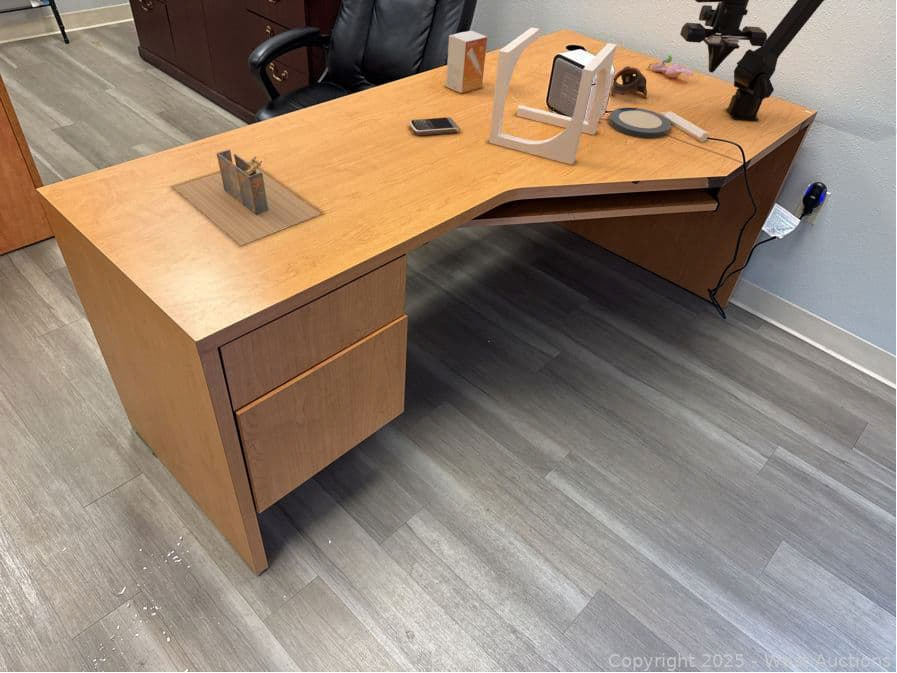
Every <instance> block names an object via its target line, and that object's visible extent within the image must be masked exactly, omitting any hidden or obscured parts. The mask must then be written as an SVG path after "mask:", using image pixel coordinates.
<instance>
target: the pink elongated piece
mask: <svg viewBox="0 0 897 673" xmlns="http://www.w3.org/2000/svg"><path fill="white" fill-rule="evenodd" d="M667 57H668V58H664V60H662V61H660V62H654V63H653V62H652V63H650V62H649V64H648V66H647V69H650V68H651V70H652V72H653V73H662V74H665V76H666V77H668V78H671V79H673V78H678V77H679V76H680V75H681V74H684V75H685V76H687V77H691V76H692V77H693V76H694V72H693V70H692V69H690V68H687V67H683V66H681V64H678V63H673V64H670V65H669V66H668V67H667V66H666V64H669V63H671V62H672V60H673V56H672V55H671V54H668V55H667Z"/></svg>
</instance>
